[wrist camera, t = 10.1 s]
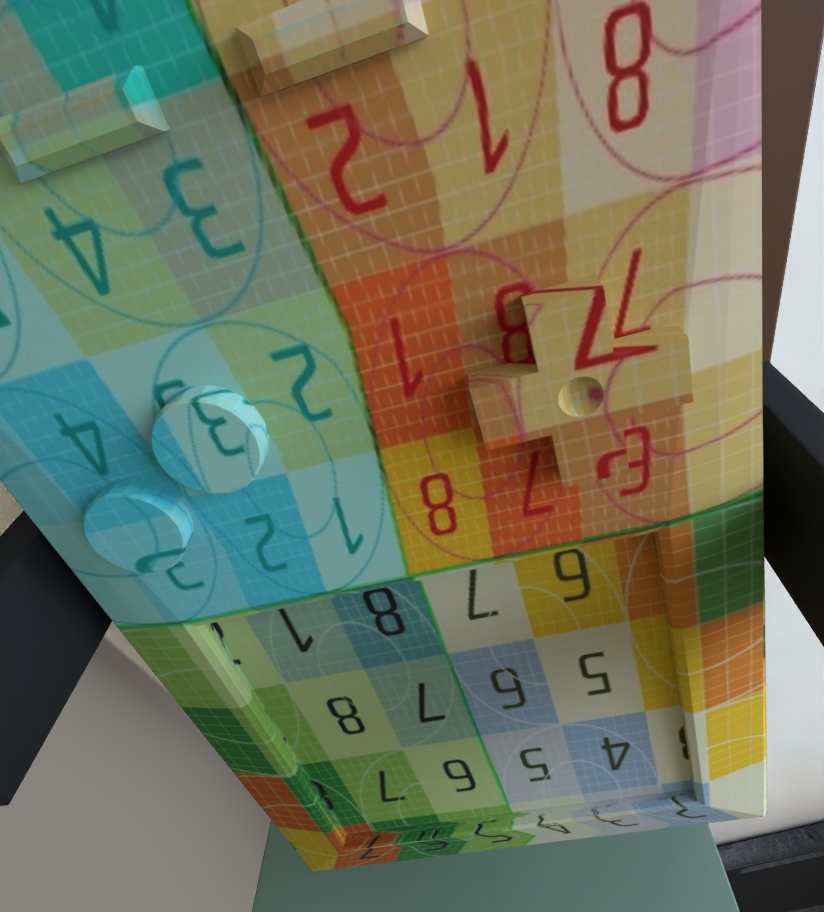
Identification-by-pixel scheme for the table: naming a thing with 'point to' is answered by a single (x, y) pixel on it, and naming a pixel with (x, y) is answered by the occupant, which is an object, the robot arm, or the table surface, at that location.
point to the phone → (778, 871)
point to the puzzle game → (405, 395)
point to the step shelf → (629, 854)
